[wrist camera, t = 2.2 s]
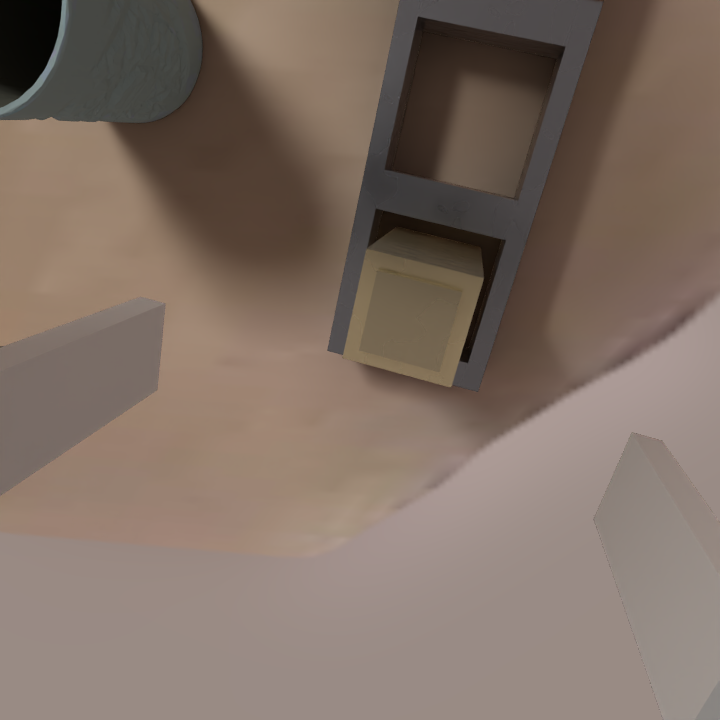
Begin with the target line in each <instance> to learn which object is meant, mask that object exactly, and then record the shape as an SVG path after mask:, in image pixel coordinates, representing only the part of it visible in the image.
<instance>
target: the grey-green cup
mask: <svg viewBox="0 0 720 720" xmlns="http://www.w3.org/2000/svg"><path fill="white" fill-rule="evenodd" d="M201 62H202V34H201V29H200V25H199V20H198V17H197V14H196V11H195V9H194V6H193V4H192V2H191V0H0V120H29V119H35V118H36V119H38V120H44V119H47V118H50V117H53V118H55V119H57V120H59V121H86V122H96V121H105V122H127V123H145V122H152V121H156V120H158V119H161V118H163V117H165V116H167V115H169V114H170V113H172V112H173V111H174V110H175V109H178V108H179V107H180V106H181V105H182V104H183V103H184V102H185V101H186V99H187V98H188V97H189V95H190V93H191V92H192V90H193V88H194V86H195V83H196V81H197V78H198V75H199V72H200V68H201Z"/></svg>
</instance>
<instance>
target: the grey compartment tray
mask: <svg viewBox="0 0 720 720" xmlns="http://www.w3.org/2000/svg"><path fill="white" fill-rule="evenodd" d="M603 2H604V0H400V3H399V7H398V12H397V17H396V22H395V27H394V31H393V36H392V41H391V46H390V51H389V56H388V60H387V65H386V70H385V75H384V80H383V85H382V89H381V94H380V99H379V104H378V109H377V113H376V118H375V123H374V128H373V133H372V138H371V142H370V147H369V152H368V157H367V162H366V166H365V171H364V176H363V181H362V186H361V191H360V195H359V200H358V205H357V210H356V215H355V220H354V224H353V229H352V234H351V239H350V244H349V248H348V253H347V258H346V263H345V268H344V273H343V277H342V282H341V287H340V292H339V297H338V302H337V306H336V311H335V316H334V321H333V326H332V330H331V335H330V340H329V345H328V350H327V351H330V352H334V353H338V354H341V355H343V353H344V349H345V344H346V339H347V335H348V330H349V326H350V321H351V317H352V312H353V307H354V303H355V298H356V294H357V289H358V285H359V280H360V275H361V271H362V266H363V262H364V257H365V253H366V249H367V248H368V247H369V246H371V245H372V244H373V243H375V242H376V240H377V235H378V231H379V226H380V222H381V218H382V213H383V210H384V211H388V212H392V213H396V214H400V215H405V216H409V217H413V218H417V219H421V220H425V221H429V222H433V223H437V224H441V225H446V226H450V227H454V228H458V229H462V230H466V231H470V232H474V233H478V234H483V235H487V236H491V237H495V238H499V239H502V240H501V243H500V246H499V249H498V253H497V256H496V259H495V263H494V266H493V269H492V272H491V276H490V279H489V282H488V285H487V289H486V292H485V295H484V299H483V302H482V305H481V308H480V312H479V315H478V318H477V322H476V325H475V328H474V331H473V335H472V338H471V341H470V344H469V348H468V347H464V346H463V350H462V353H461V356H460V360H459V363H458V366H457V370H456V373H455V376H454V380H453V383H452V385H454V386H458V387H461V388H465V389H469V390H472V391H476V392H478V390H479V387H480V384H481V381H482V378H483V375H484V372H485V369H486V365H487V362H488V359H489V356H490V353H491V350H492V347H493V344H494V341H495V337H496V334H497V331H498V328H499V325H500V322H501V319H502V316H503V313H504V309H505V306H506V303H507V300H508V297H509V294H510V291H511V288H512V285H513V281H514V278H515V275H516V272H517V269H518V266H519V263H520V260H521V257H522V254H523V250H524V247H525V244H526V241H527V238H528V235H529V232H530V229H531V226H532V222H533V219H534V216H535V213H536V210H537V207H538V204H539V201H540V198H541V194H542V191H543V188H544V185H545V182H546V179H547V176H548V173H549V170H550V166H551V163H552V160H553V157H554V154H555V151H556V148H557V145H558V142H559V139H560V135H561V132H562V129H563V126H564V123H565V120H566V117H567V114H568V111H569V107H570V104H571V101H572V98H573V95H574V92H575V89H576V86H577V83H578V79H579V76H580V73H581V70H582V67H583V64H584V61H585V58H586V55H587V51H588V48H589V45H590V42H591V39H592V36H593V33H594V30H595V27H596V23H597V20H598V17H599V14H600V11H601V8H602V5H603ZM423 32H428V33H433V34H438V35H443V36H448V37H452V38H457V39H462V40H467V41H472V42H477V43H482V44H486V45H491V46H496V47H501V48H506V49H511V50H516V51H520V52H525V53H530V54H535V55H540V56H545V57H550V58H554V59H556V63H555V66H554V69H553V73H552V76H551V79H550V82H549V86H548V89H547V92H546V95H545V99H544V102H543V105H542V109H541V112H540V115H539V118H538V122H537V125H536V128H535V132H534V135H533V138H532V141H531V145H530V148H529V151H528V154H527V158H526V161H525V164H524V168H523V171H522V174H521V177H520V181H519V184H518V187H517V190H516V194H515V197H514V198H510V197H506V196H502V195H498V194H493V193H489V192H485V191H481V190H476V189H472V188H468V187H464V186H459V185H455V184H451V183H447V182H442V181H438V180H434V179H430V178H425V177H421V176H417V175H413V174H408V173H404V172H400V171H395V170H392V169H393V164H394V160H395V155H396V151H397V146H398V142H399V137H400V133H401V128H402V124H403V119H404V115H405V111H406V106H407V102H408V97H409V93H410V88H411V84H412V79H413V75H414V70H415V66H416V62H417V57H418V53H419V48H420V44H421V39H422V35H423Z"/></svg>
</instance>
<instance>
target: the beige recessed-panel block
mask: <svg viewBox="0 0 720 720" xmlns="http://www.w3.org/2000/svg"><path fill="white" fill-rule="evenodd" d="M483 280H484V273H483V264H482V254H481V247H478V246H474V245H470V244H466V243H462V242H458V241H454V240H450V239H446V238H442V237H438V236H433V235H429V234H425V233H421V232H417V231H413V230H409V229H405V228H401V227H396V228H394V229H393V230H391V231H390V232H389V233H387V234H386V235H385V236H383V237H382V238H380V239H379V240H378V241H376V242H375V243H373V244H372V245H371V246H369V247H368V248H367V249H366V253H365V257H364V262H363V266H362V271H361V275H360V280H359V285H358V289H357V294H356V298H355V303H354V307H353V312H352V317H351V321H350V326H349V330H348V335H347V339H346V344H345V349H344V353H343V358H345V359H348V360H352V361H355V362H359V363H363V364H366V365H370V366H374V367H377V368H381V369H385V370H388V371H392V372H395V373H399V374H403V375H406V376H410V377H414V378H417V379H421V380H425V381H428V382H432V383H435V384H439V385H443V386H446V387H450V388H451V386H452V383H453V380H454V376H455V373H456V370H457V366H458V363H459V360H460V356H461V353H462V350H463V346H464V343H465V340H466V337H467V333H468V330H469V327H470V323H471V320H472V317H473V313H474V310H475V307H476V303H477V300H478V297H479V293H480V290H481V287H482V283H483Z"/></svg>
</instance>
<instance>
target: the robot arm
mask: <svg viewBox="0 0 720 720" xmlns="http://www.w3.org/2000/svg"><path fill="white" fill-rule="evenodd" d="M165 304H166V303H162V302H158V301H155V300H151V299H148V298H144V297H139V298H136V299H133V300H130V301H128V302H125V303H122V304H119V305H117V306H114V307H111V308H108V309H105V310H103V311H100V312H97V313H94V314H92V315H89V316H86V317H83V318H81V319H78V320H75V321H72V322H69V323H67V324H64V325H61V326H58V327H56V328H53V329H50V330H47V331H45V332H42V333H39V334H36V335H33V336H31V337H28V338H25V339H22V340H20V341H17V342H14V343H11V344H9V345H6V346H1V347H0V496H1V495H2V494H4V493H5V492H7V491H8V490H10V489H11V488H13V487H14V486H16V485H17V484H18V483H20V482H21V481H23V480H24V479H26V478H27V477H29V476H30V475H32V474H33V473H35V472H36V471H38V470H39V469H41V468H42V467H44V466H45V465H47V464H48V463H50V462H51V461H53V460H54V459H56V458H57V457H59V456H60V455H62V454H63V453H65V452H66V451H67V450H69V449H70V448H72V447H73V446H75V445H76V444H78V443H79V442H81V441H82V440H84V439H85V438H87V437H88V436H90V435H91V434H93V433H94V432H96V431H97V430H99V429H100V428H102V427H103V426H105V425H106V424H108V423H109V422H111V421H112V420H114V419H115V418H116V417H118V416H119V415H121V414H122V413H124V412H125V411H127V410H128V409H130V408H131V407H133V406H134V405H136V404H137V403H139V402H140V401H142V400H143V399H145V398H146V397H148V396H149V395H151V394H152V393H154V392H155V391H157V388H158V378H159V367H160V356H161V346H162V335H163V325H164V314H165ZM594 522H595V525H596V528H597V530H598V533H599V536H600V539H601V542H602V545H603V548H604V551H605V554H606V556H607V559H608V562H609V565H610V568H611V571H612V574H613V577H614V580H615V583H616V585H617V588H618V591H619V594H620V597H621V600H622V603H623V605H624V608H625V611H626V614H627V617H628V620H629V623H630V626H631V629H632V632H633V635H634V637H635V640H636V643H637V646H638V649H639V652H640V655H641V658H642V660H643V663H644V666H645V669H646V672H647V675H648V678H649V681H650V684H651V687H652V689H653V692H654V695H655V698H656V701H657V704H658V707H659V710H660V712H661V716H662V718H663V720H720V522H719V521H718V519H717V518H716V516H715V515H714V514H713V512H712V511H711V509H710V508H709V506H708V505H707V504H706V502H705V501H704V499H703V498H702V496H701V495H700V494H699V492H698V491H697V489H696V488H695V487H694V485H693V484H692V482H691V481H690V480H689V478H688V477H687V475H686V474H685V473H684V471H683V470H682V468H681V467H680V465H679V464H678V463H677V461H676V460H675V458H674V457H673V455H672V454H671V453H670V451H669V450H668V448H667V447H666V446H665V444H664V443H663V442H662V441H661V440H658V439H654V438H650V437H647V436H643V435H639V434H635V433H631V436H630V438H629V440H628V442H627V445H626V447H625V449H624V451H623V454H622V456H621V458H620V460H619V463H618V465H617V467H616V470H615V472H614V474H613V476H612V479H611V481H610V483H609V485H608V487H607V490H606V492H605V495H604V497H603V499H602V501H601V504H600V506H599V508H598V510H597V512H596V515H595V517H594Z"/></svg>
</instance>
